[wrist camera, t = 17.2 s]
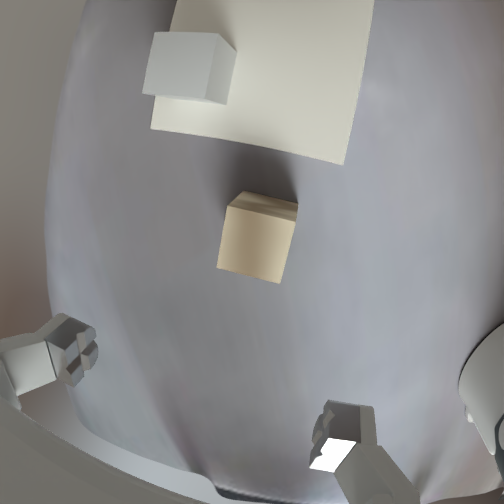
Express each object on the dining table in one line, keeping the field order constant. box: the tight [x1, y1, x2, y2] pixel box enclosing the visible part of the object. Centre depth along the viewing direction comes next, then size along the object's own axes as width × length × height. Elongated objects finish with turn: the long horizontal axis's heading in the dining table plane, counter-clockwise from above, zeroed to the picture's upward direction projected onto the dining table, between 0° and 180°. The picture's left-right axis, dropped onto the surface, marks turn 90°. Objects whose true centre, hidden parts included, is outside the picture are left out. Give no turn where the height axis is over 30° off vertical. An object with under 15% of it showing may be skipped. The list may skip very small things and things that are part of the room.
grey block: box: [142, 32, 237, 105], centre depth 20 cm, size 4×4×6 cm
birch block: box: [217, 191, 298, 284], centre depth 24 cm, size 4×4×6 cm
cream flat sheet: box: [151, 0, 374, 165], centre depth 20 cm, size 16×22×1 cm
